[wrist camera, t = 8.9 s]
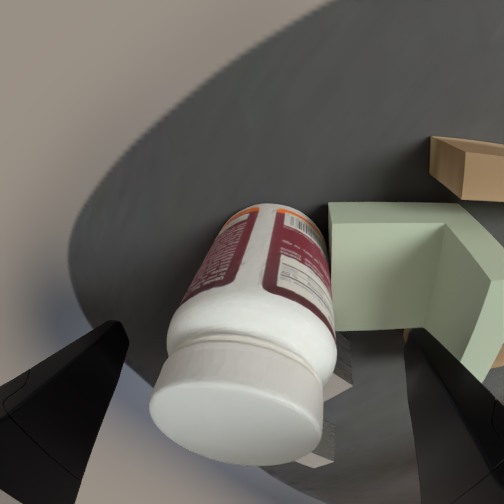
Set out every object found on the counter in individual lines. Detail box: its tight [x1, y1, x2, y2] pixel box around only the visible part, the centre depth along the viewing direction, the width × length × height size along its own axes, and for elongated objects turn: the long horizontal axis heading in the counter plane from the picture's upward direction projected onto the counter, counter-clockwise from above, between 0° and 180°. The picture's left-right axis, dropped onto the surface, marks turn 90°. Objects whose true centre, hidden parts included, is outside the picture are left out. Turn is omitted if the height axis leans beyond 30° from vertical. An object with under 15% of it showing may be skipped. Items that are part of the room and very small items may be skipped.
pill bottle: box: [149, 203, 337, 466], centre depth 10 cm, size 5×5×8 cm
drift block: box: [328, 202, 504, 383], centre depth 10 cm, size 5×6×6 cm
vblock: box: [295, 331, 353, 468], centre depth 16 cm, size 11×6×3 cm, turn 6°
